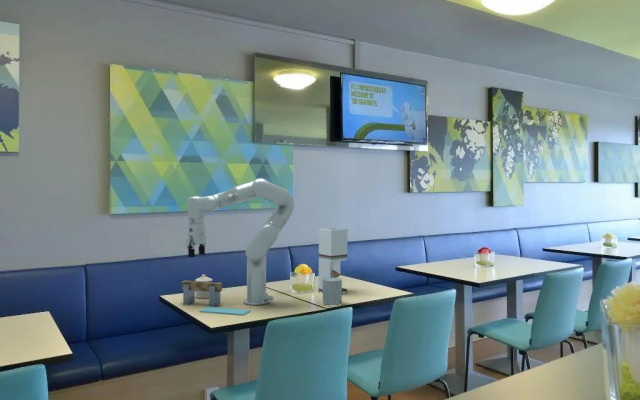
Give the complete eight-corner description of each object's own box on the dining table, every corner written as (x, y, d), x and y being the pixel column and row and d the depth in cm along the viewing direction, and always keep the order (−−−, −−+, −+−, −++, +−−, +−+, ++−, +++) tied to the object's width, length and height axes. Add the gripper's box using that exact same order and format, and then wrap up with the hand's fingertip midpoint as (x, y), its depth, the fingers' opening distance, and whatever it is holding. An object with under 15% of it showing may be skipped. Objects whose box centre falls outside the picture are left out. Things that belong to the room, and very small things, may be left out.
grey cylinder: (328, 307, 244) (328, 281, 244) (319, 302, 252) (319, 278, 252) (345, 304, 248) (345, 280, 248) (335, 300, 257) (336, 276, 256)
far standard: (194, 302, 252) (194, 282, 251) (188, 305, 246) (188, 284, 246) (189, 302, 252) (189, 282, 252) (183, 304, 247) (183, 284, 246)
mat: (250, 311, 235) (250, 309, 235) (243, 315, 227) (243, 314, 227) (207, 307, 240) (207, 306, 240) (199, 312, 233) (199, 310, 233)
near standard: (220, 304, 248) (220, 284, 248) (214, 307, 242) (214, 286, 242) (214, 303, 249) (214, 283, 248) (209, 306, 243) (209, 286, 243)
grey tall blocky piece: (331, 295, 269) (331, 230, 268) (318, 292, 278) (318, 228, 277) (346, 292, 276) (347, 229, 275) (334, 289, 285) (334, 227, 284)
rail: (222, 290, 246) (222, 282, 246) (219, 292, 243) (219, 283, 243) (185, 288, 251) (185, 280, 251) (181, 289, 248) (181, 281, 248)
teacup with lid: (214, 298, 262) (214, 275, 261) (196, 299, 258) (196, 276, 258) (209, 293, 273) (209, 271, 272) (192, 294, 269) (192, 273, 269)
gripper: (193, 222, 240) (194, 258, 241) (211, 220, 257) (212, 253, 257) (179, 222, 242) (180, 258, 243) (198, 219, 259) (199, 253, 259)
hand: (196, 255), depth 250 cm, fingers open, 9 cm apart
